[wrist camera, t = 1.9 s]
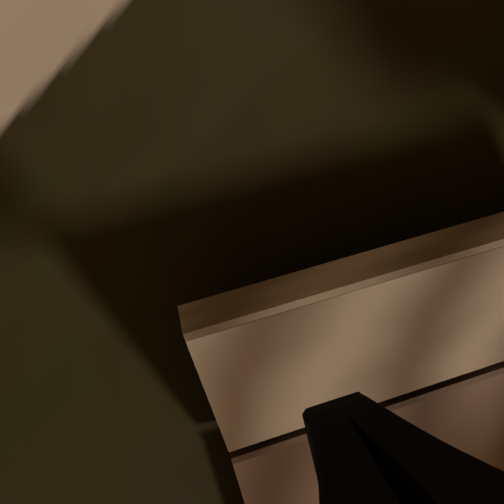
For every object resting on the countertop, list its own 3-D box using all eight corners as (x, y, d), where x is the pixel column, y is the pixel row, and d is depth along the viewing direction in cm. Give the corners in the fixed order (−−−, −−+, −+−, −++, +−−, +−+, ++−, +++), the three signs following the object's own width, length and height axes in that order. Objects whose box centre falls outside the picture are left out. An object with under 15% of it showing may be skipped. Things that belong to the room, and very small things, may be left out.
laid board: (571, 327, 22) (594, 337, 20) (578, 442, 23) (599, 457, 22) (227, 440, 20) (230, 459, 18) (262, 557, 21) (267, 580, 20)
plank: (662, 165, 16) (695, 182, 15) (574, 311, 21) (595, 330, 20) (177, 305, 14) (182, 334, 13) (222, 426, 19) (228, 452, 18)
